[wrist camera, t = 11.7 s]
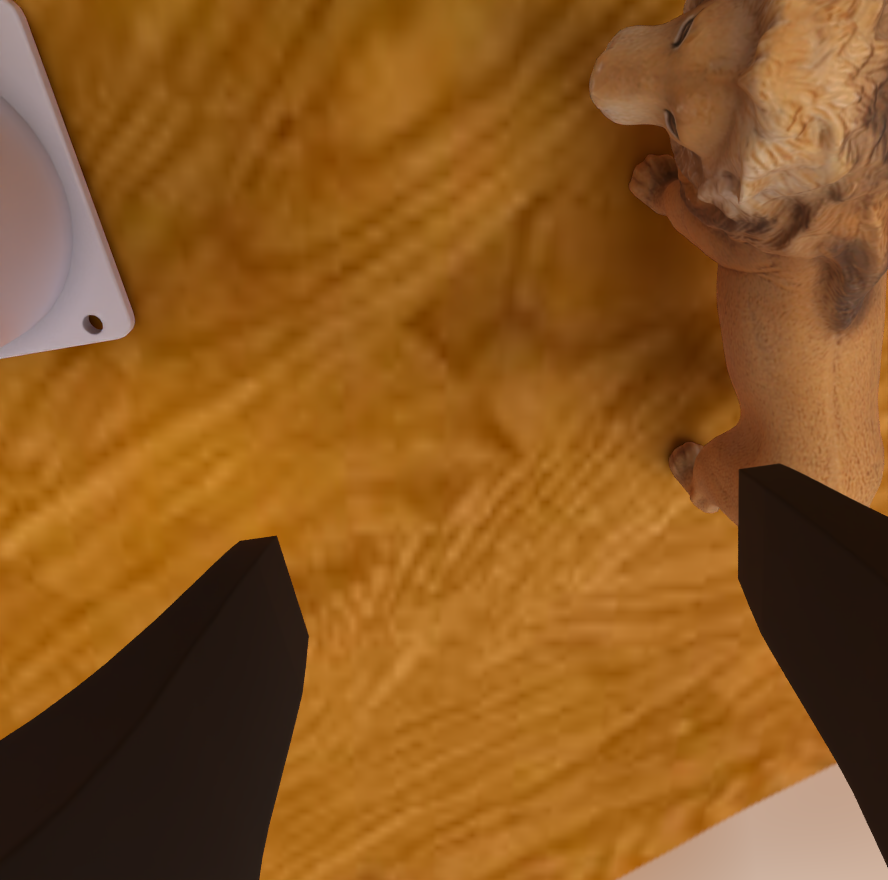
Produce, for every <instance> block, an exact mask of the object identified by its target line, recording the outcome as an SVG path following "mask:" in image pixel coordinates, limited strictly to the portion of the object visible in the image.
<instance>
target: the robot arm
mask: <svg viewBox="0 0 888 880" xmlns="http://www.w3.org/2000/svg"><path fill="white" fill-rule="evenodd" d="M89 315H95V316H96V317H98V318H99V319H100V320H101V322H102V323H103V329H102V330H101V329H96V328H95V327H93V326H92V325H91V323H90V322H89ZM134 324H135V318H134V313H133V310H132V308H131V305H130V302H129V299H128V297H127V294H126V291H125V288H124V286H123V283H122V280H121V277H120V275H119V272H118V269H117V266H116V264H115V261H114V258H113V256H112V253H111V250H110V247H109V245H108V242H107V239H106V236H105V234H104V231H103V228H102V225H101V223H100V220H99V217H98V214H97V212H96V209H95V206H94V203H93V201H92V198H91V195H90V192H89V190H88V187H87V184H86V181H85V179H84V176H83V173H82V170H81V168H80V165H79V162H78V159H77V157H76V154H75V151H74V148H73V146H72V143H71V140H70V137H69V135H68V132H67V129H66V126H65V124H64V121H63V118H62V115H61V113H60V110H59V107H58V104H57V102H56V99H55V96H54V93H53V91H52V88H51V85H50V82H49V80H48V77H47V74H46V71H45V69H44V66H43V63H42V60H41V58H40V55H39V52H38V49H37V47H36V44H35V41H34V38H33V36H32V33H31V30H30V27H29V25H28V22H27V19H26V17H25V15H24V13H23V11H22V9H21V8H20V7H19V6H18V5H17V4H16V3H15V2H14V1H13V0H0V359H2V358H8V357H14V356H20V355H26V354H32V353H38V352H44V351H50V350H56V349H61V348H67V347H73V346H79V345H85V344H91V343H97V342H103V341H109V340H115V339H120V338H122V337H125V336H126V335H127V334H128V333H129V332H130V331H131V330H132V329H133V328H134ZM738 579H739V582H740V584H741V587H742V589H743V592H744V594H745V597H746V599H747V602H748V604H749V607H750V609H751V611H752V614H753V616H754V618H755V621H756V623H757V625H758V627H759V630H760V632H761V634H762V636H763V638H764V640H765V641H766V643H767V645H768V647H769V648H770V650H771V652H772V654H773V655H774V657H775V659H776V660H777V662H778V664H779V666H780V667H781V669H782V671H783V672H784V674H785V676H786V678H787V679H788V681H789V683H790V684H791V686H792V688H793V689H794V691H795V693H796V694H797V696H798V698H799V699H800V701H801V703H802V704H803V706H804V708H805V709H806V711H807V713H808V714H809V716H810V718H811V720H812V721H813V723H814V725H815V726H816V728H817V730H818V731H819V733H820V735H821V736H822V738H823V740H824V741H825V743H826V745H827V746H828V748H829V750H830V751H831V753H832V755H833V756H834V758H835V760H836V762H837V763H838V765H839V767H840V769H841V771H842V773H843V774H844V776H845V778H846V780H847V782H848V784H849V786H850V788H851V789H852V791H853V793H854V796H855V798H856V799H857V802H858V804H859V806H860V808H861V810H862V813H863V815H864V817H865V819H866V821H867V824H868V826H869V828H870V830H871V832H872V834H873V836H874V838H875V841H876V843H877V845H878V847H879V849H880V852H881V854H882V856H883V858H884V860H885V862H886V865H887V867H888V517H887V516H885V515H883V514H881V513H879V512H877V511H875V510H873V509H871V508H869V507H867V506H865V505H863V504H861V503H859V502H857V501H855V500H853V499H851V498H849V497H847V496H845V495H843V494H842V493H840V492H838V491H836V490H834V489H832V488H830V487H828V486H826V485H824V484H822V483H820V482H818V481H816V480H814V479H812V478H810V477H808V476H807V475H805V474H802V473H800V472H798V471H796V470H794V469H792V468H790V467H788V466H785V465H783V464H780V463H778V464H771V465H764V466H757V467H750V468H743V469H739V486H738ZM308 638H309V635H308V632H307V629H306V626H305V623H304V619H303V616H302V613H301V610H300V607H299V604H298V601H297V598H296V595H295V591H294V588H293V585H292V582H291V579H290V576H289V573H288V570H287V566H286V563H285V560H284V557H283V554H282V551H281V548H280V545H279V541H278V538H277V536H271V537H264V538H257V539H250V540H244V541H239V542H238V543H237V544H236V545H234V546H233V547H232V548H231V549H230V550H228V551H227V552H226V553H225V554H224V555H223V556H222V557H221V558H220V559H219V560H218V561H216V562H215V563H214V564H213V565H212V566H211V567H210V568H209V569H208V570H207V571H206V572H205V573H204V574H203V575H202V576H201V577H200V578H199V579H198V580H197V581H196V582H195V583H194V584H193V585H192V586H191V587H190V588H188V589H187V590H186V591H185V592H184V593H183V594H182V595H181V596H180V597H179V598H178V599H177V600H176V601H175V602H174V603H173V604H172V605H171V606H170V607H169V608H168V609H166V610H165V611H164V612H163V613H162V614H161V615H160V616H159V617H158V618H157V619H156V620H155V621H154V622H153V623H151V624H150V625H149V626H148V627H147V628H146V629H145V630H144V631H142V632H141V633H140V634H139V635H138V636H137V637H136V638H134V639H133V640H132V641H131V642H130V643H129V644H128V645H126V646H125V647H124V648H123V649H122V650H121V651H120V652H119V653H117V654H116V655H115V656H114V657H113V658H112V659H111V660H109V661H108V662H107V663H106V664H105V665H104V666H102V667H101V668H100V669H99V670H97V671H96V672H95V673H94V674H92V675H91V676H90V677H89V678H87V679H86V680H85V681H84V682H82V683H81V684H80V685H79V686H77V687H76V688H75V689H73V690H72V691H71V692H69V693H68V694H67V695H65V696H64V697H63V698H61V699H60V700H58V701H57V702H56V703H54V704H53V705H52V706H50V707H49V708H48V709H46V710H45V711H44V712H42V713H41V714H39V715H38V716H37V717H35V718H34V719H32V720H31V721H29V722H28V723H26V724H25V725H23V726H22V727H20V728H19V729H17V730H16V731H14V732H12V733H11V734H9V735H8V736H6V737H5V738H3V739H2V740H0V880H259V877H260V870H261V864H262V857H263V852H264V847H265V843H266V838H267V833H268V828H269V824H270V820H271V816H272V812H273V808H274V804H275V800H276V797H277V793H278V789H279V785H280V781H281V777H282V773H283V769H284V765H285V761H286V758H287V754H288V750H289V746H290V742H291V738H292V734H293V730H294V726H295V722H296V718H297V714H298V710H299V706H300V701H301V697H302V693H303V685H304V677H305V669H306V659H307V648H308Z"/></svg>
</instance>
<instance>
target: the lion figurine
mask: <svg viewBox="0 0 888 880" xmlns="http://www.w3.org/2000/svg"><path fill="white" fill-rule="evenodd" d="M589 92H590V97H591V99H592V101H593V103H594V104H595V105H596V107H597V108H598V109H601V112H602V113H603V114H604V115H605V116H606V117H607V118H608V119H610V120H612V121H613V122H615V123H618V124H622V125H638V124H651V125H657V126H660V127H663V128H665V129H666V130H667V132H668V134H669V136H670V142H671V148H672V151H673V153H674V157H675V158H673V157H672V156H671V155H667V154H664V155H659V156H657V155H653V154H650V155H647V157H646V158H645V159H644V161H643V162H642V163H640V164H638V165H637V166H636V167H635V169H634V171H633V177H632V179H631V181H630V183H629V189H630V191H631V192H632V193H633V194H634V195H635V196H636V197H637V198H638V199H640V200H641V201H642V202H643V203H645V204H646V205H647V206H649V207H650V208H651V209H652V210H654V211H655V212H656V213H658V214H660V215H665V216H668V218H669V220H670V222H671V223H672V225H673V227H674V228H675V229H676V230H677V231H678V232H679V233H681V234H682V235H684V236H685V237H686V238H687V239H688V240H689V241H690V242H691V243H693V244H694V245H696V246H697V247H698V248H700V249H701V250H702V251H703V252H704V253H705V254H706V255H707V256H709V257H710V258H711V259H713V260H714V261H716V262H717V263H718V272H717V308H718V314H719V321H720V327H721V333H722V340H723V346H724V353H725V359H726V365H727V369H728V373H729V376H730V379H731V382H732V384H733V387H734V390H735V392H736V395H737V397H738V400H739V403H740V408H741V417H740V420H739V422H738V424H737V425H736V426H735V427H733V428H732V429H731V430H729V431H727V432H725V433H723V434H721V435H719V436H717V437H715V438H714V439H713V440H711V441H710V442H709V443H707V444H706V445H705V446H704V447H703V446H702V445H699V444H695V443H693V442H686V443H685V444H683V445H682V446H679V447H677V448H676V449H675V450H674V451H673V453H672V454H671V455H670V458H669V466H670V469H671V471H672V473H673V475H674V477H675V478H676V479H677V480H678V481H679V483H680V484H681V485H682V486H683V487H684V488H685V490H686V491H687V492H688V493H689V495H690V500H691V501H692V502H693V504H694V505H695V506H697V507H698V508H699V509H701V510H702V511H704V512H706V513H714V512H717V511H718V510H719V508H720V509H721V510H722V511H723V512H724V513H725V514H726V515H727V516H728V517H729V518H730V519H731V520H732V521H733V522H734V523H735V524H736V525H737V526H738V486H739V469H743V468H750V467H757V466H764V465H771V464H778V463H780V464H783V465H785V466H788V467H790V468H792V469H794V470H796V471H798V472H800V473H802V474H805V475H807V476H808V477H810V478H812V479H814V480H816V481H818V482H820V483H822V484H824V485H826V486H828V487H830V488H832V489H834V490H836V491H838V492H840V493H842V494H843V495H845V496H847V497H849V498H851V499H853V500H855V501H857V502H859V503H861V504H863V505H865V506H867V507H869V506H870V504H871V502H872V500H873V498H874V496H875V494H876V492H877V490H878V488H879V486H880V483H881V479H882V475H883V469H884V447H883V442H882V437H881V433H880V423H879V413H878V387H879V378H880V365H881V351H882V342H883V332H884V321H885V300H886V280H887V270H888V0H686V2H685V5H684V10H683V15H681V16H679V17H677V18H675V19H673V20H671V21H670V22H667V23H665V24H662V25H655V26H641V25H638V26H631V27H627V28H624V29H622V30H620V31H619V32H618V33H617V34H616V35H615V36H614V37H613V38H612V40H611V41H610V43H609V44H608V45H607V48H606V50H605V51H604V52H603V53H602V54H601V55H600V56H599V57H598V58H597V59H596V62H595V65H594V68H593V71H592V74H591V77H590V82H589Z"/></svg>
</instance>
